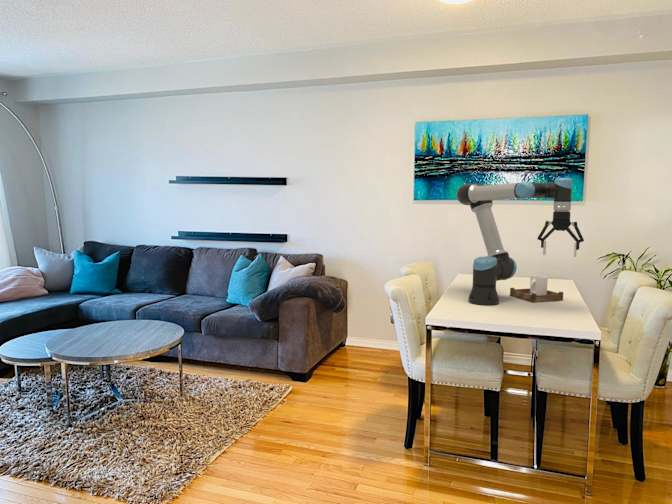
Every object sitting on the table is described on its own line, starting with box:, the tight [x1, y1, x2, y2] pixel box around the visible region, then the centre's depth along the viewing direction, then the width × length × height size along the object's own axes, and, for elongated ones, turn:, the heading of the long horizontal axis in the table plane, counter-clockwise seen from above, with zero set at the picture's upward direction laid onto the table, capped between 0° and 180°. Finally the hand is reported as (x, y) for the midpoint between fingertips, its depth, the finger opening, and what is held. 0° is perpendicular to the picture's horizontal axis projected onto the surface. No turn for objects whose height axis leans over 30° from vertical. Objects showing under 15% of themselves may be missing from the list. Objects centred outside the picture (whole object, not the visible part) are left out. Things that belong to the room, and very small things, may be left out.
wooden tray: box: [509, 287, 564, 304], centre depth 280 cm, size 19×19×4 cm
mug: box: [529, 274, 549, 296], centre depth 279 cm, size 9×12×11 cm
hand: (559, 255), depth 247 cm, fingers open, 13 cm apart
